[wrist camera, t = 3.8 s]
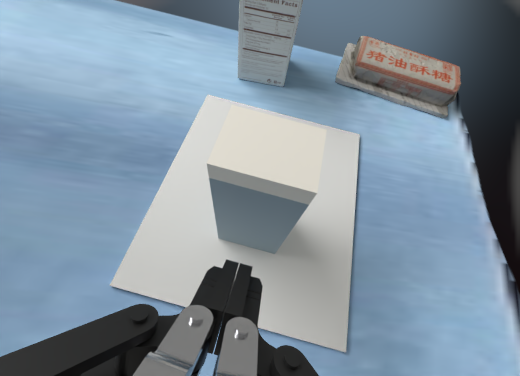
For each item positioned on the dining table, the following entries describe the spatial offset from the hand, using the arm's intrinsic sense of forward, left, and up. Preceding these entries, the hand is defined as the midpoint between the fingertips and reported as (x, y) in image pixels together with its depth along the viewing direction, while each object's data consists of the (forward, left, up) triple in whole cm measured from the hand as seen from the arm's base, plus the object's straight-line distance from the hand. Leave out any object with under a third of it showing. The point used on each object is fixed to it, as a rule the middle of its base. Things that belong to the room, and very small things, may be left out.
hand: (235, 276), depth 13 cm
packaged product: (+16, +38, -12) cm, 43 cm away
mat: (0, +11, -11) cm, 16 cm away
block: (0, +7, -11) cm, 13 cm away
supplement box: (-5, +33, -12) cm, 35 cm away
